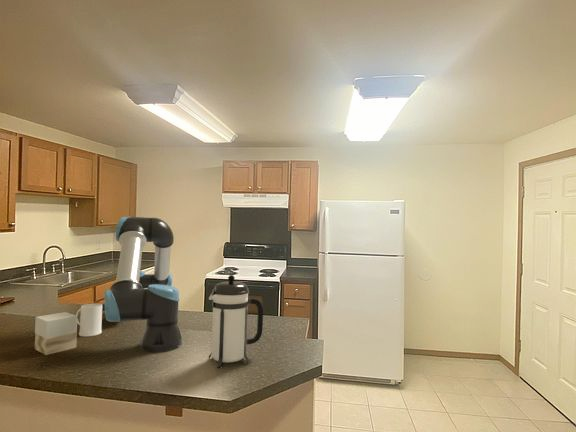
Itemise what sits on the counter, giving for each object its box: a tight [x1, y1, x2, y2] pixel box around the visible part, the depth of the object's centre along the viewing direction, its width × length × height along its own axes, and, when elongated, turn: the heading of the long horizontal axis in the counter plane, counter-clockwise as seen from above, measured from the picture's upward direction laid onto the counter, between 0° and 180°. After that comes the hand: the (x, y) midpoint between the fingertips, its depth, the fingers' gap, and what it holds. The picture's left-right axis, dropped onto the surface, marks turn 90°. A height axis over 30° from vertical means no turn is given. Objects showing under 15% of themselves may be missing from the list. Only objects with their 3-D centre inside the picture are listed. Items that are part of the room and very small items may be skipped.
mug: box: [75, 303, 103, 337], centre depth 145 cm, size 12×8×12 cm
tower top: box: [34, 311, 79, 338], centre depth 126 cm, size 10×10×6 cm
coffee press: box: [208, 274, 264, 369], centre depth 119 cm, size 17×16×30 cm
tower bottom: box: [34, 331, 78, 356], centre depth 126 cm, size 10×10×6 cm
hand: (96, 313), depth 151 cm, fingers open, 13 cm apart
